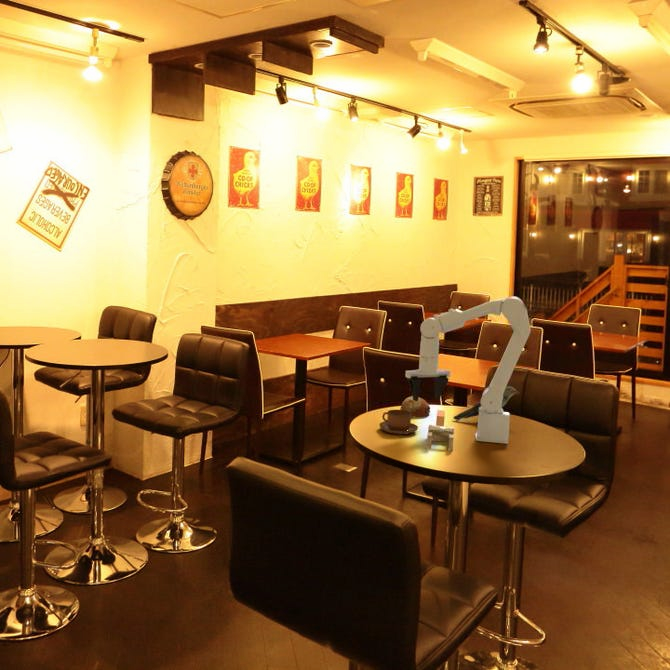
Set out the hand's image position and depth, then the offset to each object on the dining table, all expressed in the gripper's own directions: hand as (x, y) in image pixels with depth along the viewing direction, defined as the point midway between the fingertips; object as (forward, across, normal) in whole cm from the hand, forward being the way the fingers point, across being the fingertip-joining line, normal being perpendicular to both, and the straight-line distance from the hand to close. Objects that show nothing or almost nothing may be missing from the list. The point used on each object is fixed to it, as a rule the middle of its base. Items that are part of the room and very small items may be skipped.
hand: (426, 399), depth 224 cm
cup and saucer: (+10, +8, -2) cm, 13 cm away
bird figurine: (+11, -26, -6) cm, 29 cm away
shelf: (+10, +2, +14) cm, 17 cm away
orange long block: (+10, -5, +1) cm, 11 cm away
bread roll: (+10, -7, -21) cm, 25 cm away
